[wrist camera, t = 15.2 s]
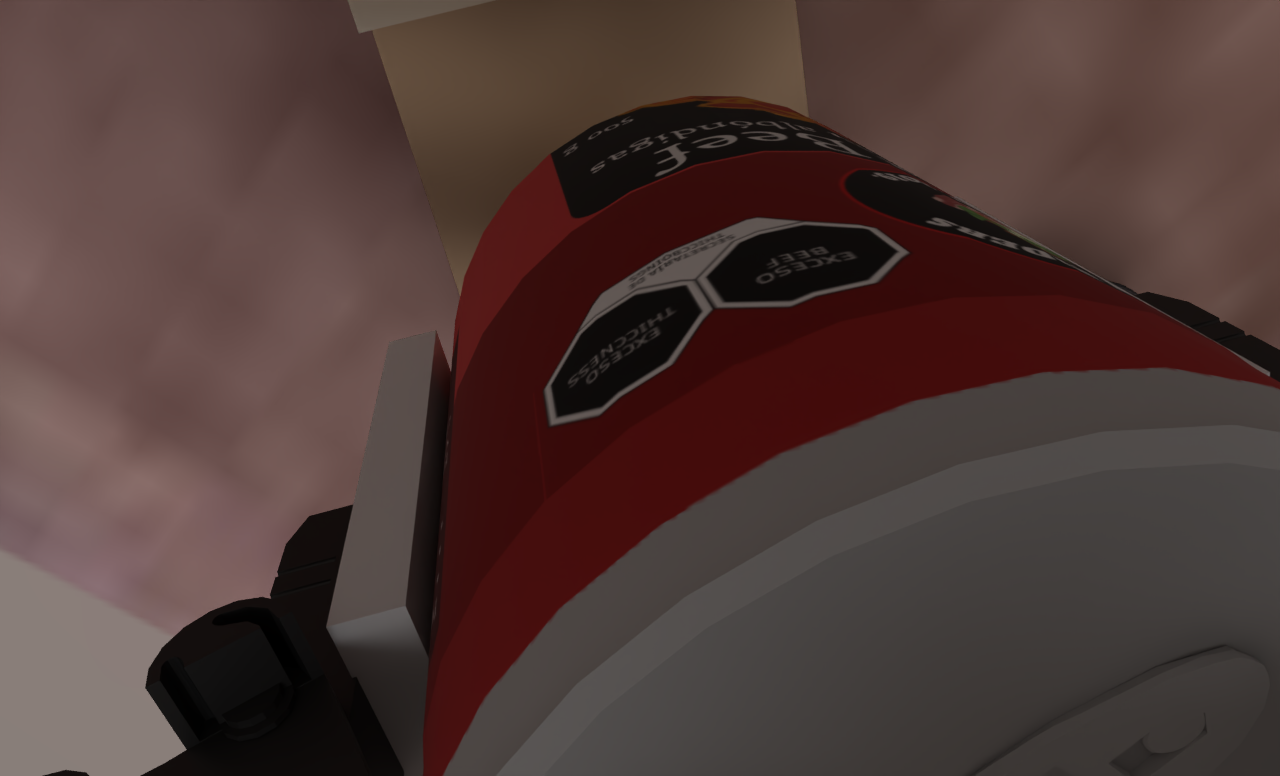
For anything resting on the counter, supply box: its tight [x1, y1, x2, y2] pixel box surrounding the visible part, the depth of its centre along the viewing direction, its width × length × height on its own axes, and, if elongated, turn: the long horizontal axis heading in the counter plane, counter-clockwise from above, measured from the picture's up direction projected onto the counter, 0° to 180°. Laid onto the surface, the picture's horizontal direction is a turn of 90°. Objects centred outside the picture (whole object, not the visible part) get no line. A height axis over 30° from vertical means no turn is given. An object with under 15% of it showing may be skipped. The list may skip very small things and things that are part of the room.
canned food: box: [423, 96, 1280, 776], centre depth 11 cm, size 8×8×11 cm
